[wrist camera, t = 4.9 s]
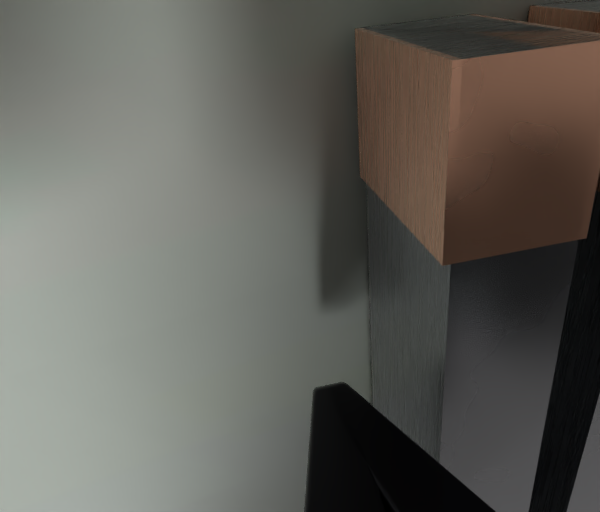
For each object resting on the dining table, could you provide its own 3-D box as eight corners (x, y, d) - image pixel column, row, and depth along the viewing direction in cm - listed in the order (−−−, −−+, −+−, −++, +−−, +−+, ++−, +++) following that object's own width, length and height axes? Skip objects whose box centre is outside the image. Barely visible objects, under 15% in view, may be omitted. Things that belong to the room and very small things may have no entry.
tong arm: (440, 542, 14) (502, 674, 11) (373, 560, 14) (421, 699, 11) (474, 14, 8) (625, 37, 5) (355, 28, 8) (452, 60, 5)
